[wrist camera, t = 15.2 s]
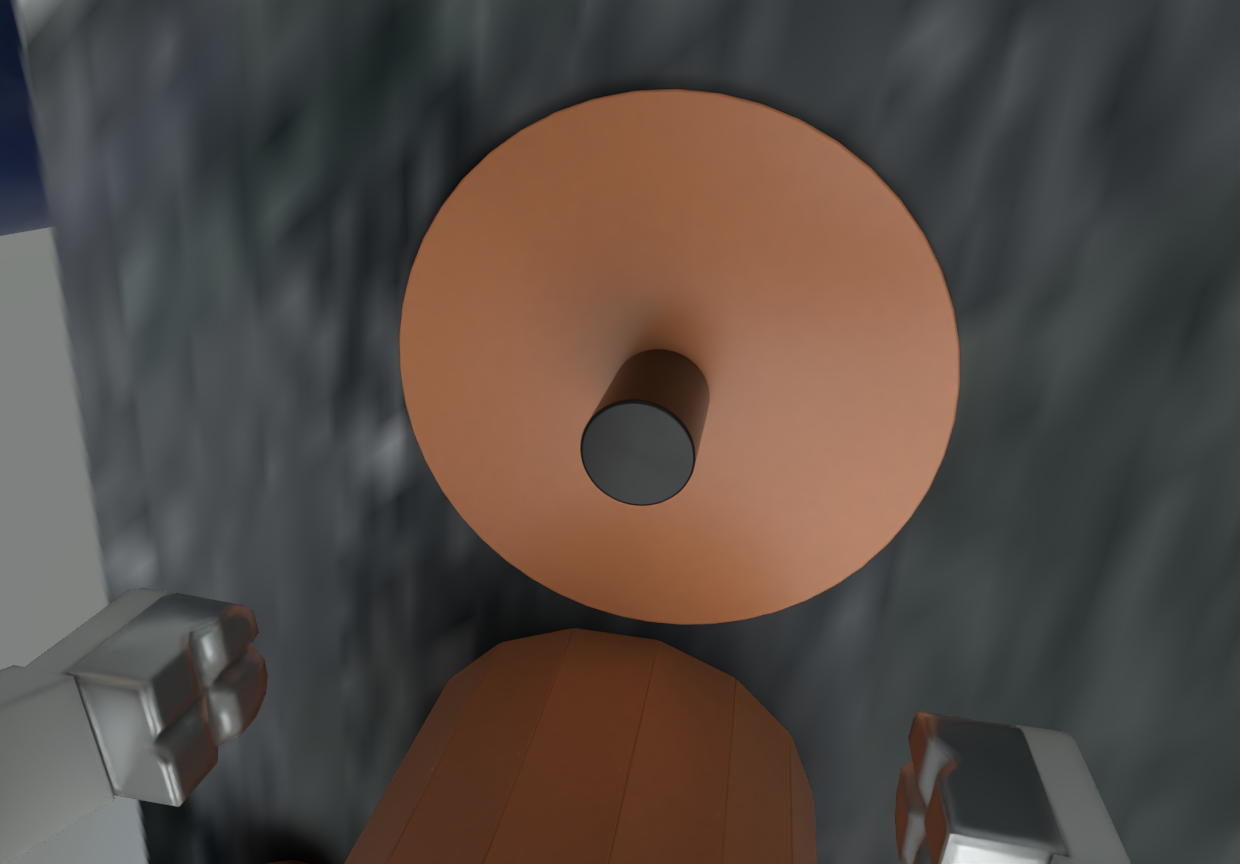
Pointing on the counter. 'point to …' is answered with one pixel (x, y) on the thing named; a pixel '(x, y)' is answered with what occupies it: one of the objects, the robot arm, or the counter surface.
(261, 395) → the counter surface
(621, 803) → the pot
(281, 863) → the onion
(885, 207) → the lid
